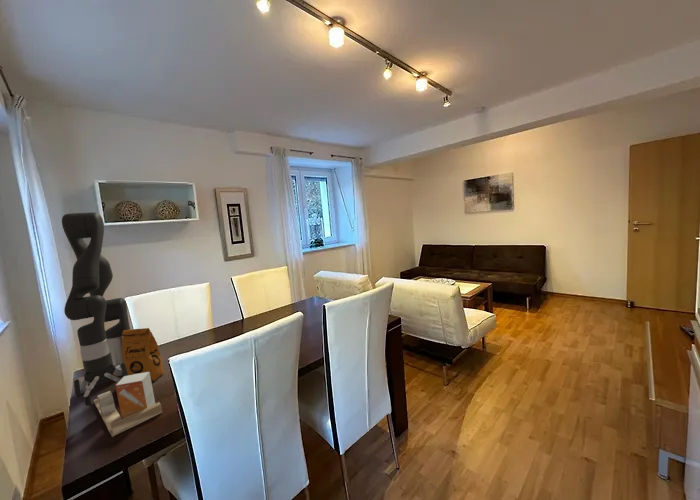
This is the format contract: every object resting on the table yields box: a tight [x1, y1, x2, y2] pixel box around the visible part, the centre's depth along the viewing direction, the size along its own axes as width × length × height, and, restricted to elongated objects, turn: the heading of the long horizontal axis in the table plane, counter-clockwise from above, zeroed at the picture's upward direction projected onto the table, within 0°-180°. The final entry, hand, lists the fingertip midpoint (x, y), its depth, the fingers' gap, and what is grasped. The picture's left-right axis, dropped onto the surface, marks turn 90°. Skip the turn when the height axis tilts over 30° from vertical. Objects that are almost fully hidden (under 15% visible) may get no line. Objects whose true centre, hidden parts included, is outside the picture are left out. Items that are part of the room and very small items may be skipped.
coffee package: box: [121, 327, 165, 382], centre depth 129 cm, size 10×12×22 cm
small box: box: [115, 372, 156, 419], centre depth 106 cm, size 8×6×13 cm
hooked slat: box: [93, 390, 163, 438], centre depth 110 cm, size 30×14×7 cm, turn 48°
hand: (105, 398), depth 106 cm, fingers open, 8 cm apart
